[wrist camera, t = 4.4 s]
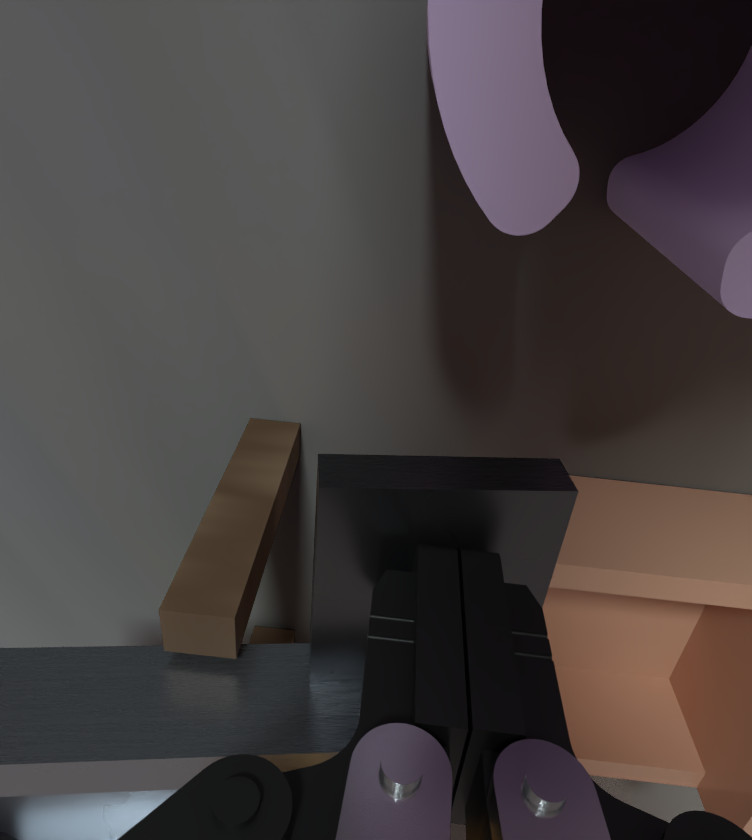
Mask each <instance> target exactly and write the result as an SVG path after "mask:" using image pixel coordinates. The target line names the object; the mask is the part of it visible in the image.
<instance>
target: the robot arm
mask: <svg viewBox="0 0 752 840" xmlns="http://www.w3.org/2000/svg"><path fill="white" fill-rule="evenodd" d="M451 823H455V824H464V825H466V840H752V837H751V836H750V835H749V834H747V833H746V832H745V831H744V830H743V829H741V828H740V827H738V826H737V825H736V824H734V823H733V822H731V821H729V820H727V819H725V818H723V817H721V816H718V815H716V814H713V813H709V812H705V811H688V812H684V813H682V814H679V815H678V816H676V817H675V818H673V820H672V821H671V822H670V823H668V822H666V821H664V820H661V819H659V818H657V817H655V816H653V815H650V814H648V813H646V812H644V811H641V810H639V809H637V808H635V807H633V806H630V805H628V804H626V803H624V802H622V801H620V800H618V799H616V798H614V797H613V796H611V795H610V794H608V793H607V792H605V791H604V790H603V789H602V788H601V787H599V786H598V785H597V784H596V783H595V782H594V781H593V780H592V779H591V777H590V776H589V774H588V772H587V771H586V769H585V768H584V767H583V765H582V764H581V763H580V762H579V761H578V760H577V758H576V756H575V754H574V751H573V749H572V746H571V742H570V738H569V733H568V728H567V724H566V719H565V714H564V709H563V704H562V700H561V695H560V690H559V685H558V680H557V676H556V671H555V666H554V661H552V652H551V647H550V642H549V639H548V632H547V628H546V623H545V618H544V613H543V608H542V607H541V606H540V604H539V603H538V601H537V600H536V598H535V597H534V596H533V594H532V593H531V591H530V590H529V588H528V587H527V585H520V584H512V583H504V577H503V570H502V563H501V557H500V554H499V553H495V552H486V551H478V550H469V549H460V548H459V549H458V551H457V549H456V548H449V547H441V546H432V545H423V544H417V548H416V554H415V561H414V567H413V572H405V571H396V570H386V571H385V572H384V574H383V575H382V577H381V578H380V580H379V581H378V583H377V584H376V586H375V587H374V588H373V593H372V602H371V610H370V619H369V628H368V637H367V645H366V655H365V665H364V674H363V684H362V693H361V703H360V712H359V722H358V726H357V729H356V732H355V734H354V735H353V737H352V739H351V740H350V742H349V743H348V744H347V745H346V747H345V748H344V749H342V750H341V751H340V752H339V753H338V754H337V755H335V756H334V757H332V758H331V759H329V760H326V761H324V762H322V763H319V764H316V765H313V766H309V767H304V768H300V769H295V770H291V771H286V772H281V770H280V769H279V768H278V767H277V766H276V765H274V764H273V763H272V762H270V761H268V760H267V759H265V758H262V757H259V756H256V755H250V754H237V755H231V756H227V757H224V758H221V759H219V760H217V761H215V762H213V763H212V764H210V765H209V766H207V767H206V768H204V769H203V770H202V771H201V772H200V773H198V774H197V775H196V776H195V777H193V778H192V779H191V780H190V781H189V782H187V783H186V784H185V785H184V786H182V787H181V788H180V789H179V790H178V791H176V792H175V793H174V794H173V795H171V796H170V797H169V798H168V799H167V800H165V801H164V802H163V803H162V804H160V805H159V806H158V807H157V808H155V809H154V810H153V811H152V812H151V813H149V814H148V815H147V816H146V817H144V818H143V819H142V820H141V821H140V822H138V823H137V824H136V825H135V826H133V827H132V828H131V829H130V830H129V831H127V832H126V833H125V834H124V835H122V836H121V837H120V838H119V839H118V840H450V828H451Z"/></svg>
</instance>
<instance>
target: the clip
mask: <svg viewBox="0 0 752 840" xmlns="http://www.w3.org/2000/svg"><path fill="white" fill-rule="evenodd" d="M542 2H543V0H428V8H427V47H428V57H429V65H430V71H431V76H432V82H433V86H434V90H435V95H436V99H437V103H438V107H439V111H440V114H441V118H442V122H443V126H444V130H445V133H446V135H447V138H448V141H449V144H450V147H451V150H452V152H453V155H454V158H455V160H456V162H457V164H458V167H459V169H460V171H461V173H462V175H463V178H464V180H465V182H466V183H467V185H468V187H469V189H470V191H471V192H472V194H473V196H474V198H475V200H476V201H477V203H478V204H479V206H480V207H481V209H482V210H483V212H484V213H485V215H486V216H487V218H488V219H489V221H490V222H491V223H492V224H493V225H494V226H495V227H496V228H497V229H499V230H500V231H502V232H504V233H507V234H510V235H516V236H521V235H528V234H532V233H535V232H537V231H539V230H540V229H542V228H544V227H545V226H546V225H547V224H549V223H550V222H551V221H552V220H553V219H554V218H555V217H556V216H557V215H558V214H559V213H560V212H561V211H562V210H563V209H564V208H565V207H566V205H567V204H568V203H569V202H570V201H571V199H572V197H573V196H574V194H575V192H576V189H577V186H578V182H579V165H578V160H577V158H576V156H575V154H574V152H573V150H572V148H571V146H570V145H569V143H568V141H567V139H566V137H565V136H564V134H563V132H562V129H561V127H560V124H559V122H558V119H557V117H556V115H555V112H554V109H553V105H552V102H551V98H550V95H549V91H548V87H547V82H546V76H545V71H544V65H543V54H542V41H541V21H542ZM607 203H608V206H609V208H610V209H611V210H612V212H613V213H615V214H616V215H617V216H618V217H619V218H620V219H622V220H623V221H624V222H625V223H626V224H627V225H629V226H630V227H631V228H632V229H633V230H634V231H636V232H637V233H638V234H639V235H640V236H641V237H643V238H644V239H645V240H646V241H647V242H649V243H650V244H651V245H652V246H653V247H654V248H656V249H657V250H658V251H659V252H660V253H661V254H663V255H664V256H665V257H666V258H667V259H668V260H670V261H671V262H672V263H673V264H674V265H675V266H677V267H678V268H679V269H680V270H681V271H682V272H684V273H685V274H686V275H687V276H688V277H689V278H691V279H692V280H693V281H694V282H695V283H696V284H698V285H699V286H700V287H701V288H702V289H703V290H705V291H706V292H707V293H708V294H709V295H711V296H712V297H713V298H714V299H715V300H716V301H718V302H719V303H720V304H721V305H722V306H723V307H725V308H726V309H727V310H728V311H729V312H731V313H732V314H734V315H736V316H739V317H742V318H752V46H751V48H750V50H749V52H748V54H747V56H746V59H745V61H744V62H743V64H742V66H741V68H740V70H739V71H738V73H737V75H736V76H735V78H734V79H733V81H732V82H731V84H730V85H729V87H728V88H727V89H726V91H725V92H724V93H723V94H722V96H721V97H720V98H719V99H718V101H717V102H716V103H715V104H714V105H713V106H712V107H711V108H710V109H709V110H708V111H707V112H706V113H705V114H704V115H703V116H702V117H701V118H700V119H699V120H698V121H697V122H695V123H694V124H693V125H692V126H690V127H689V128H688V129H686V130H685V131H684V132H682V133H681V134H679V135H678V136H676V137H674V138H673V139H671V140H670V141H668V142H666V143H664V144H662V145H660V146H658V147H656V148H653V149H651V150H648V151H646V152H643V153H640V154H636V155H633V156H630V157H627V158H625V159H623V160H621V161H620V162H619V163H618V164H617V165H616V166H615V167H614V168H613V170H612V171H611V173H610V176H609V180H608V186H607Z"/></svg>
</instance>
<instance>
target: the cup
mask: <svg viewBox="0 0 752 840" xmlns="http://www.w3.org/2000/svg"><path fill="white" fill-rule="evenodd" d="M569 476H570V478H571V479H572V481H573V483H574V485H575V486H576V488H577V490H578V491H579V492H578V495H577V498H576V501H575V504H574V508H573V511H572V514H571V517H570V521H569V524H568V527H567V530H566V533H565V537H564V540H563V543H562V546H561V550H560V553H559V556H558V559H557V563H556V566H555V569H554V572H553V575H552V579H551V582H550V585H549V588H548V592H547V595H546V598H545V601H544V604H543V613H544V618H545V623H546V628H547V632H548V639H549V642H550V647H551V652H552V661H554V666H555V671H556V676H557V680H558V685H559V690H560V695H561V700H562V704H563V709H564V714H565V719H566V724H567V728H568V733H569V738H570V742H571V746H572V749H573V751H574V754H575V756H576V758H577V760H578V761H579V762H580V763H581V764H582V765H583V767H584V768H585V769H586V771H587V772H588V774H589V775H593V776H601V777H610V778H619V779H627V780H636V781H644V782H653V783H662V784H670V785H679V786H687V787H696V788H697V790H698V792H699V795H700V798H701V801H702V803H703V806H704V809H705V811H706V812H709V813H713V814H716V815H718V816H721V817H723V818H725V819H727V820H729V821H731V822H733V823H734V824H736V825H737V826H738V827H740V828H741V829H743V830H744V831H745V832H746V833H747V834H749V835H750V836H751V837H752V495H747V494H738V493H728V492H719V491H710V490H701V489H692V488H682V487H673V486H664V485H655V484H646V483H636V482H627V481H618V480H609V479H599V478H590V477H581V476H572V475H569Z"/></svg>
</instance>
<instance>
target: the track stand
mask: <svg viewBox="0 0 752 840" xmlns="http://www.w3.org/2000/svg"><path fill="white" fill-rule="evenodd" d="M299 453H300V423H291V422H281V421H272V420H263V419H253V418H250V420H249V422H248V424H247V427H246V429H245V431H244V433H243V435H242V437H241V439H240V441H239V443H238V445H237V447H236V450H235V452H234V454H233V456H232V458H231V460H230V462H229V464H228V466H227V468H226V470H225V473H224V475H223V477H222V479H221V481H220V483H219V485H218V487H217V489H216V491H215V493H214V496H213V498H212V500H211V502H210V504H209V506H208V508H207V510H206V512H205V514H204V516H203V518H202V521H201V523H200V525H199V527H198V529H197V531H196V533H195V535H194V537H193V539H192V541H191V544H190V546H189V548H188V550H187V552H186V554H185V556H184V558H183V560H182V562H181V564H180V567H179V569H178V571H177V573H176V575H175V577H174V579H173V581H172V583H171V585H170V587H169V590H168V592H167V594H166V596H165V598H164V600H163V602H162V604H161V606H160V608H159V615H160V623H161V631H162V638H163V646H164V651H170V652H179V653H188V654H196V655H205V656H214V657H223V658H231V659H236V658H237V655H238V652H239V649H240V646H241V642H242V639H243V636H244V633H245V630H246V626H247V623H248V620H249V617H250V613H251V610H252V607H253V604H254V601H255V597H256V594H257V591H258V588H259V585H260V581H261V578H262V575H263V572H264V569H265V565H266V562H267V559H268V556H269V553H270V549H271V546H272V543H273V540H274V537H275V533H276V530H277V527H278V524H279V521H280V517H281V514H282V511H283V508H284V505H285V501H286V498H287V495H288V492H289V488H290V485H291V482H292V479H293V476H294V472H295V469H296V466H297V463H298V460H299ZM294 639H295V631H294V630H285V629H276V628H268V627H259V626H255V627H254V630H253V633H252V637H251V640H250V643H249V644H289V643H294Z"/></svg>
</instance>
